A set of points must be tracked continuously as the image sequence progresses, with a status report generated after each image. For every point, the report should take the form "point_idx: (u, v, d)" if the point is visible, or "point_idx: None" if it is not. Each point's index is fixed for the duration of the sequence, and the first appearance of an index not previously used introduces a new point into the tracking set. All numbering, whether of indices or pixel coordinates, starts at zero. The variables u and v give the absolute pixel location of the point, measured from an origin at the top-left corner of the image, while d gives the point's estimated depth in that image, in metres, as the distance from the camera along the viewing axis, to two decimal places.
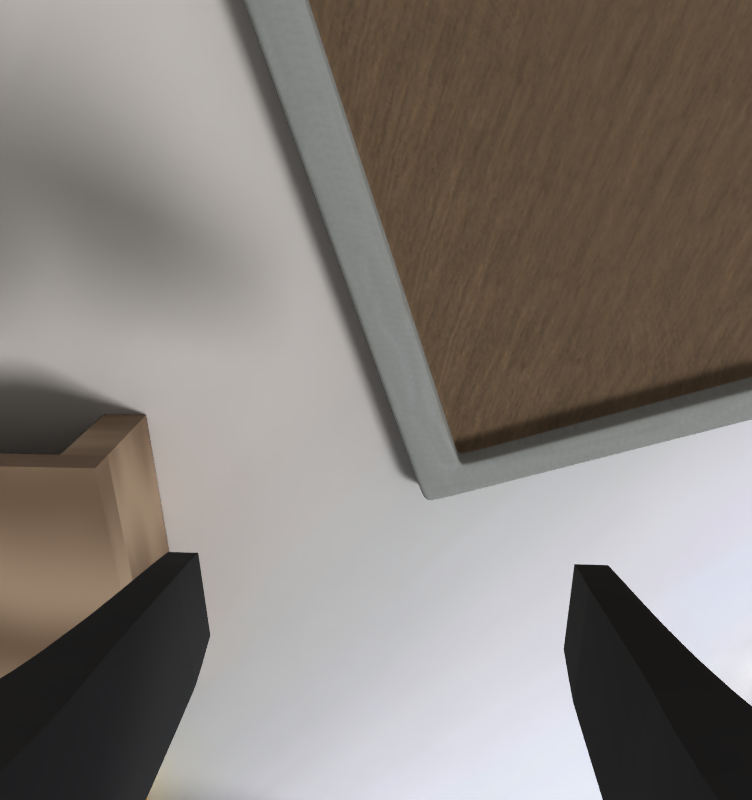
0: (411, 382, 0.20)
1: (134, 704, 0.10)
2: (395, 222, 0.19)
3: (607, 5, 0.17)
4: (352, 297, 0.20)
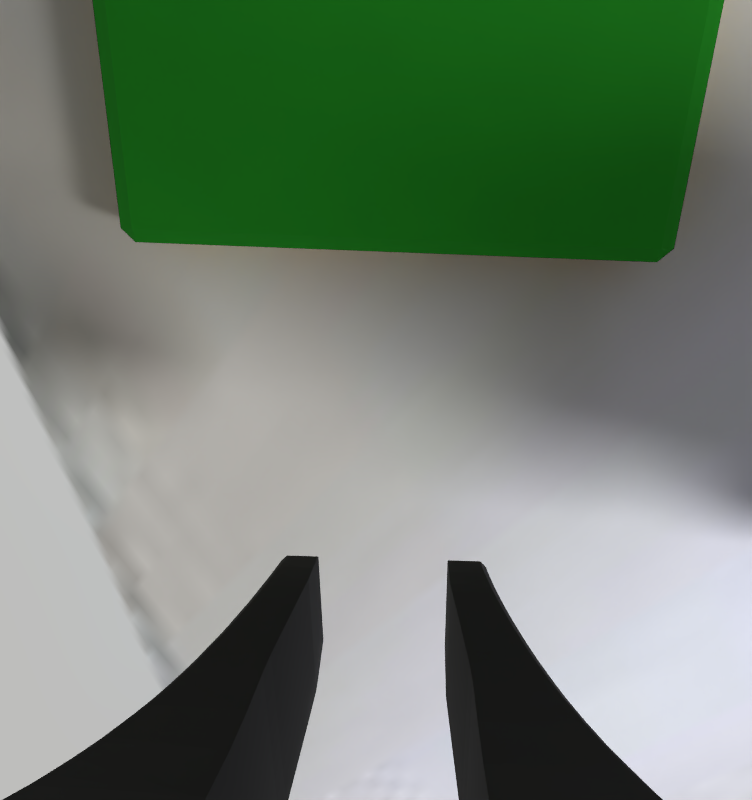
0: None
1: (282, 711, 0.10)
2: None
3: None
4: None
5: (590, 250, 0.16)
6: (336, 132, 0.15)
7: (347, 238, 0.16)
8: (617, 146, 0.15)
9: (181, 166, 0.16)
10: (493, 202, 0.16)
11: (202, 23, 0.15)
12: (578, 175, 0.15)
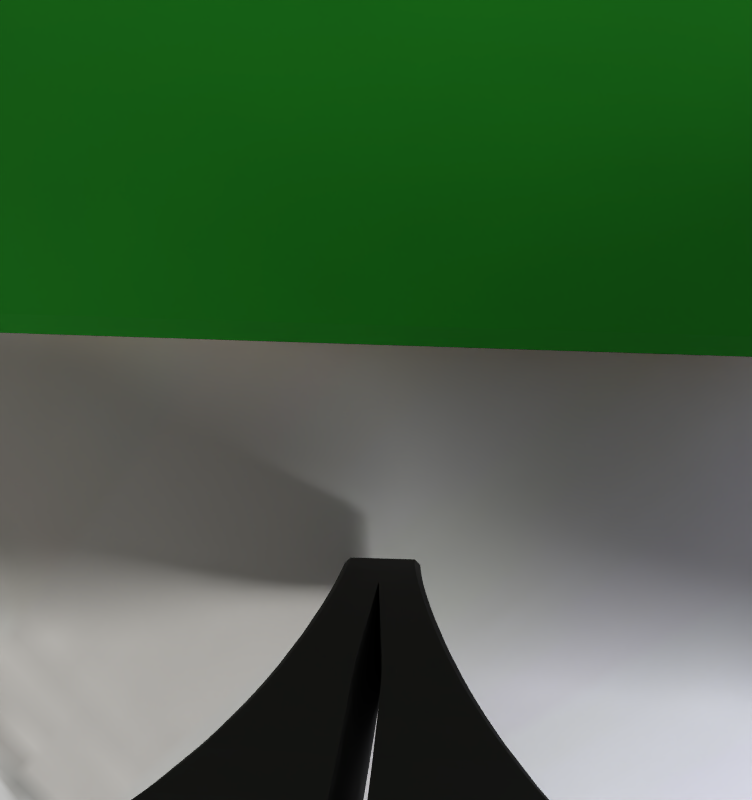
0: None
1: (361, 715, 0.10)
2: None
3: None
4: None
5: (714, 341, 0.09)
6: (269, 146, 0.09)
7: (297, 324, 0.10)
8: None
9: (7, 208, 0.09)
10: (547, 263, 0.09)
11: None
12: (700, 216, 0.09)
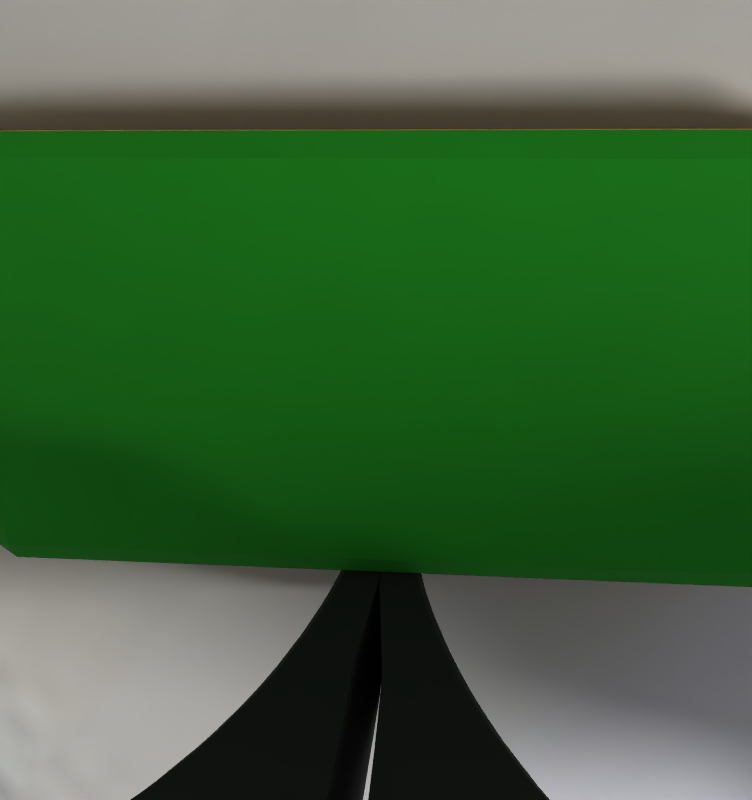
0: None
1: (360, 715, 0.10)
2: None
3: None
4: None
5: (672, 574, 0.11)
6: (293, 430, 0.10)
7: (316, 558, 0.11)
8: (718, 449, 0.10)
9: (70, 472, 0.11)
10: (529, 517, 0.11)
11: (82, 291, 0.10)
12: (656, 485, 0.10)
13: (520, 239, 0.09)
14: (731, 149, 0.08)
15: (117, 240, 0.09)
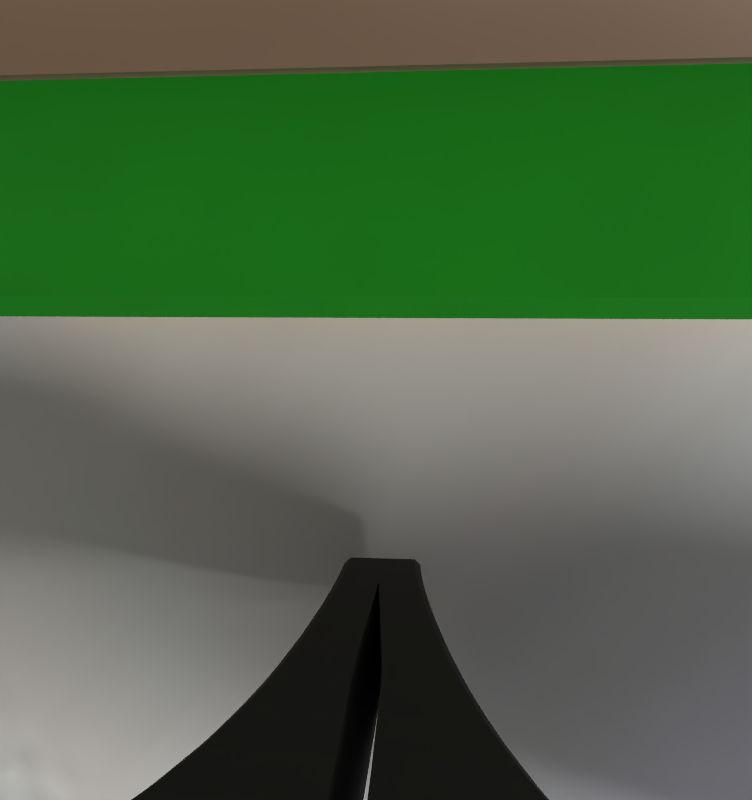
0: None
1: (361, 715, 0.10)
2: None
3: None
4: None
5: None
6: (299, 114, 0.08)
7: (329, 298, 0.09)
8: None
9: (32, 187, 0.09)
10: (586, 227, 0.09)
11: None
12: (745, 172, 0.08)
13: None
14: None
15: None
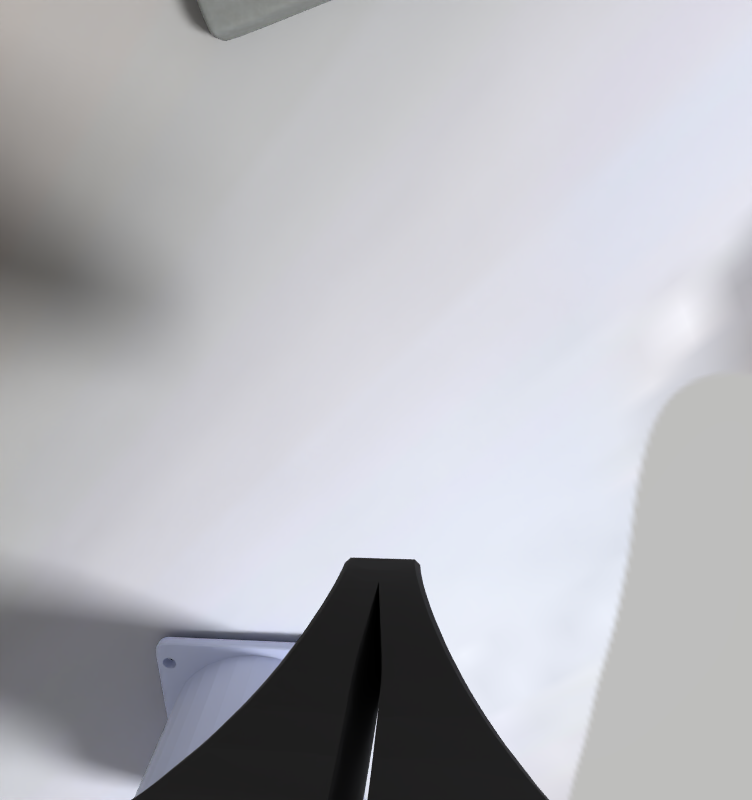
0: None
1: (361, 715, 0.10)
2: None
3: None
4: None
5: None
6: None
7: None
8: None
9: None
10: None
11: None
12: None
13: None
14: None
15: None
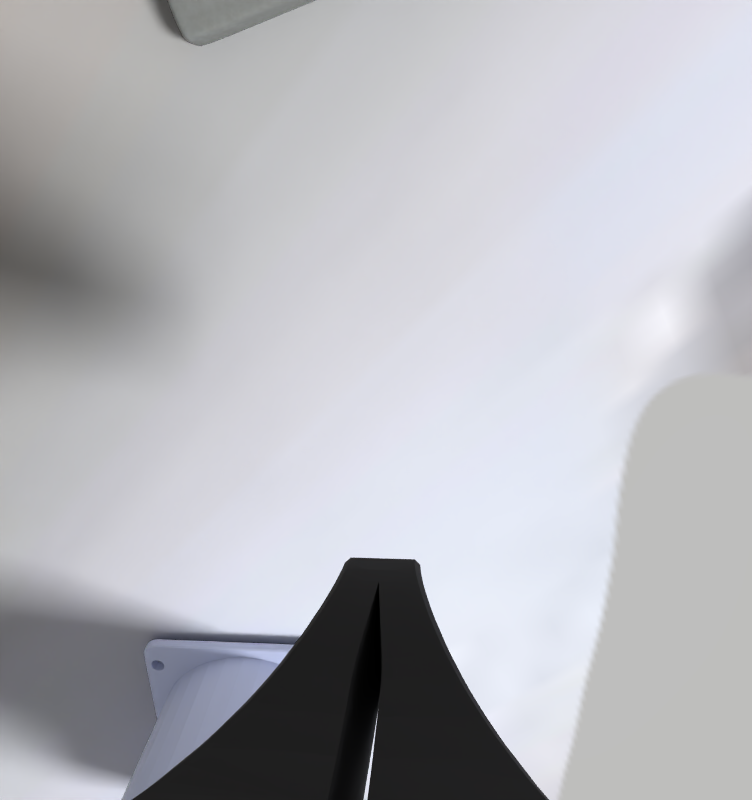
0: None
1: (361, 715, 0.10)
2: None
3: None
4: None
5: None
6: None
7: None
8: None
9: None
10: None
11: None
12: None
13: None
14: None
15: None
